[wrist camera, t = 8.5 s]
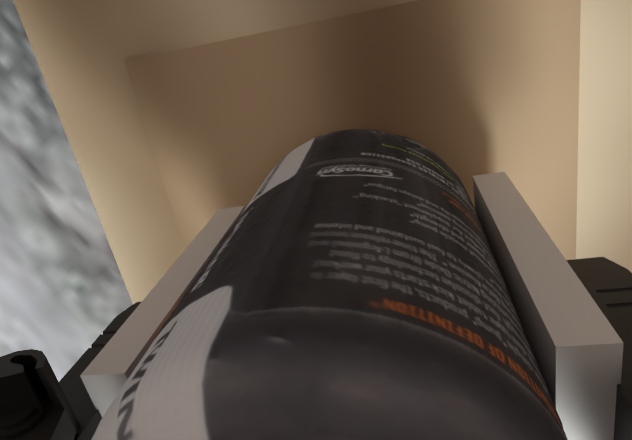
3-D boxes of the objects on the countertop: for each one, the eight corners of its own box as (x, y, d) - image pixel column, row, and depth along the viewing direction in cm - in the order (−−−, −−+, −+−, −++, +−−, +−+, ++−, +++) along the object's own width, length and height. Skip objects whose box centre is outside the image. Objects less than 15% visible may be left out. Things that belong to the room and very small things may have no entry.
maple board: (196, 420, 19) (185, 442, 18) (30, -22, 13) (0, -24, 12) (642, 403, 16) (659, 430, 15) (697, -193, 10) (731, -215, 9)
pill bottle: (216, 179, 13) (-421, 821, 3) (424, 83, 11) (776, 863, 1) (314, 346, 15) (147, 1101, 5) (505, 286, 13) (918, 1285, 3)
